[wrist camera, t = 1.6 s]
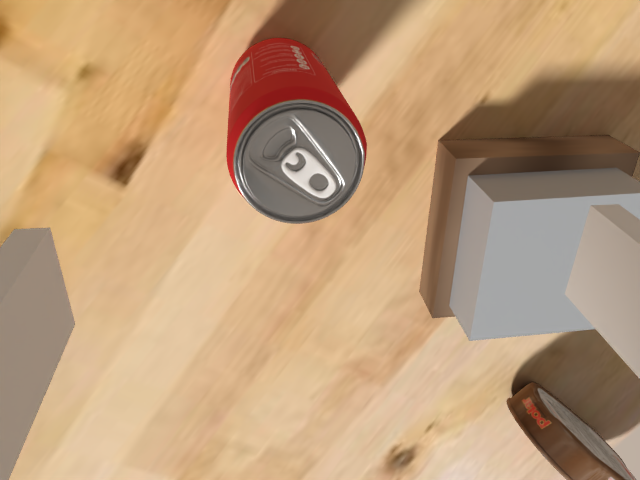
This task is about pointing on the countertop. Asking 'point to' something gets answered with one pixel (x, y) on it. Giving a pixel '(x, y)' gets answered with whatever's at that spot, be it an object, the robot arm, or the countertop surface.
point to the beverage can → (291, 134)
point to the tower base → (496, 159)
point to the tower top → (527, 248)
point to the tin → (565, 437)
